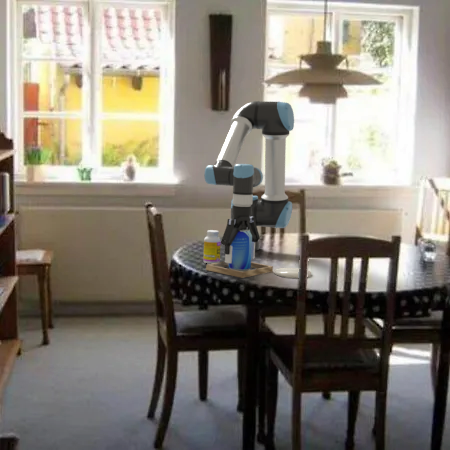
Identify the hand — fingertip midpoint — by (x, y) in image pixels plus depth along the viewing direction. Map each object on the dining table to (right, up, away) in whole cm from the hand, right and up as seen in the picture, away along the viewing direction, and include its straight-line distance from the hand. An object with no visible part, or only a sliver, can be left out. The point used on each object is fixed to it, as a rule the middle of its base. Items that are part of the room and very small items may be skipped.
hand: (239, 260), depth 302 cm
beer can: (0, -4, +1) cm, 4 cm away
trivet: (+20, -5, -2) cm, 21 cm away
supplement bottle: (-11, -2, +14) cm, 18 cm away
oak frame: (0, -4, +1) cm, 4 cm away
